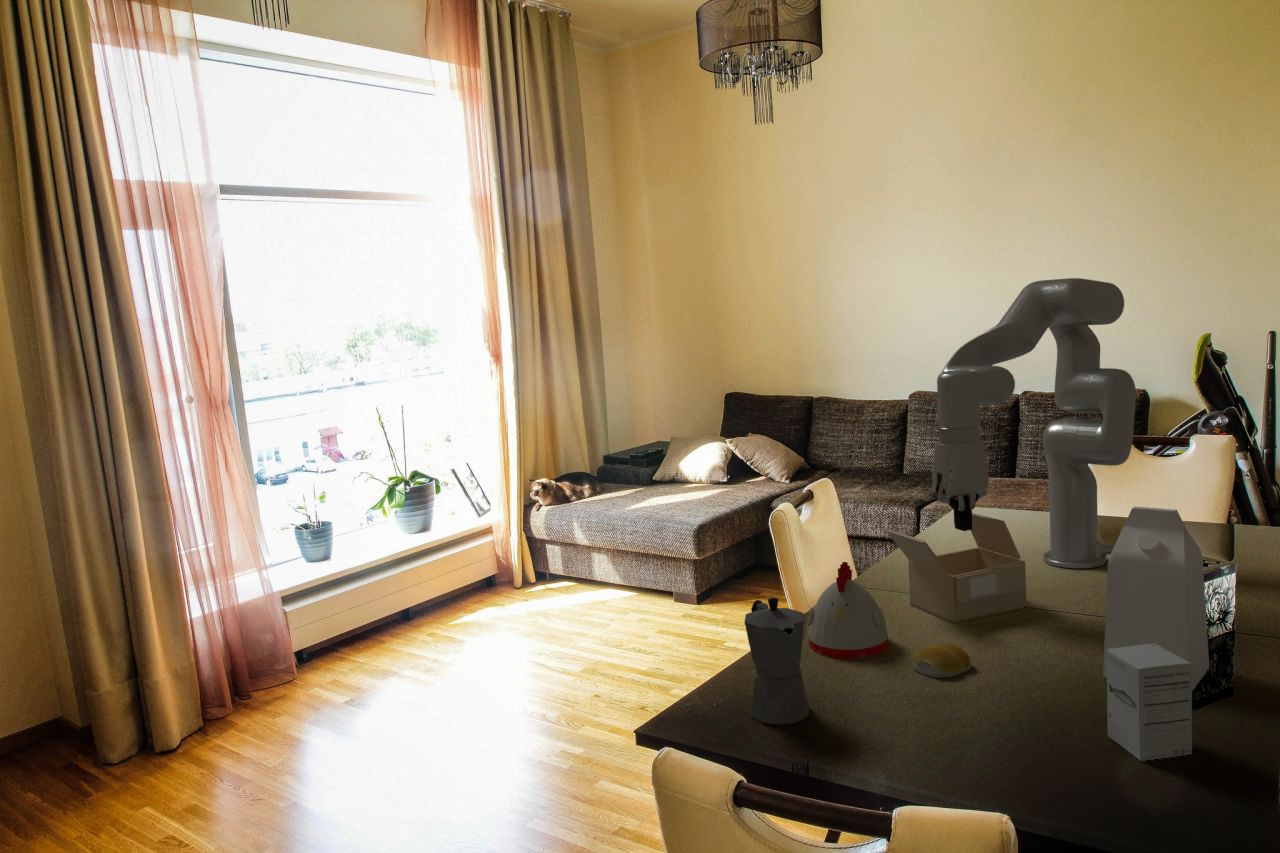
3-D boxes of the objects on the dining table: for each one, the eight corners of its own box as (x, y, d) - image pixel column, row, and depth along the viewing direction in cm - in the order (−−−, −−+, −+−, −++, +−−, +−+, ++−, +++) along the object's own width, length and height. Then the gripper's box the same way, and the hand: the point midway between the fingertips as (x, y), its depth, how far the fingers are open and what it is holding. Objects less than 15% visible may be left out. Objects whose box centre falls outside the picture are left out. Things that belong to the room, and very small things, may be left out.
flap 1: (911, 559, 183) (887, 528, 181) (949, 572, 173) (924, 540, 170) (909, 561, 183) (885, 530, 180) (947, 574, 172) (922, 542, 170)
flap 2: (979, 545, 189) (963, 510, 187) (1020, 558, 178) (1004, 521, 176) (978, 547, 189) (962, 512, 186) (1019, 559, 178) (1002, 522, 176)
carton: (977, 589, 191) (976, 546, 190) (1029, 608, 178) (1027, 562, 177) (908, 604, 186) (906, 560, 184) (956, 625, 172) (954, 577, 171)
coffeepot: (827, 725, 136) (820, 606, 134) (766, 736, 134) (758, 615, 132) (787, 685, 151) (780, 578, 149) (732, 695, 149) (724, 586, 147)
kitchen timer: (799, 654, 164) (794, 572, 162) (819, 628, 176) (815, 551, 175) (879, 662, 158) (875, 576, 156) (894, 634, 170) (891, 554, 169)
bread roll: (980, 668, 153) (979, 645, 152) (944, 683, 148) (943, 659, 147) (938, 655, 159) (938, 632, 159) (903, 669, 155) (902, 646, 154)
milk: (1209, 668, 145) (1208, 504, 142) (1190, 693, 137) (1189, 520, 134) (1125, 653, 153) (1123, 498, 150) (1103, 676, 145) (1099, 513, 142)
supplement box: (1105, 737, 126) (1104, 647, 125) (1158, 731, 127) (1156, 641, 125) (1139, 763, 119) (1137, 668, 117) (1194, 756, 119) (1193, 661, 118)
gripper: (978, 429, 184) (981, 520, 186) (914, 438, 179) (918, 531, 181) (1005, 432, 177) (1008, 527, 179) (940, 442, 172) (944, 539, 174)
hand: (963, 529), depth 180 cm, fingers closed
